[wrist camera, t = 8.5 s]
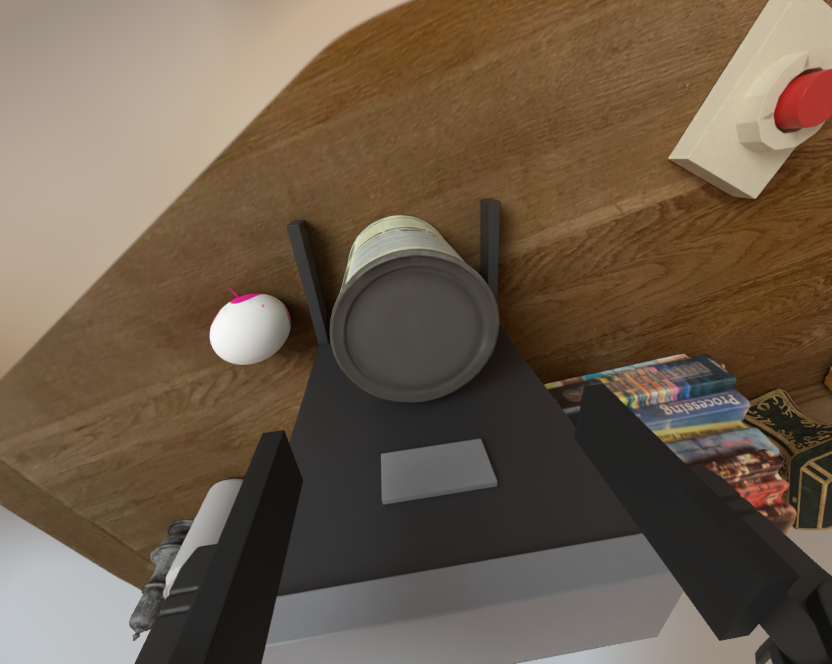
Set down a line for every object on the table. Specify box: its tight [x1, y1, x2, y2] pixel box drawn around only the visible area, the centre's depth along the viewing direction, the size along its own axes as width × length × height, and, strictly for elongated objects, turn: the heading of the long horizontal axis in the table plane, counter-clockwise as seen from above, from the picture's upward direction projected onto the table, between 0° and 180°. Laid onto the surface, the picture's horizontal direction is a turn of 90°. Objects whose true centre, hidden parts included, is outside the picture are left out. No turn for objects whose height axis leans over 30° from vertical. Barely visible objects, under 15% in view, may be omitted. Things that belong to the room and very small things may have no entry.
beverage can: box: [163, 479, 243, 599], centre depth 38 cm, size 6×6×12 cm
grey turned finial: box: [129, 520, 194, 641], centre depth 41 cm, size 6×6×12 cm
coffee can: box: [330, 215, 499, 403], centre depth 26 cm, size 10×10×14 cm
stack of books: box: [544, 354, 797, 535], centre depth 37 cm, size 23×18×17 cm
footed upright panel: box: [262, 198, 683, 664], centre depth 22 cm, size 17×18×26 cm
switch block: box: [668, 0, 832, 199], centre depth 27 cm, size 12×9×4 cm
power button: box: [774, 69, 832, 129], centre depth 25 cm, size 4×4×2 cm
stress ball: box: [208, 290, 291, 365], centre depth 31 cm, size 8×8×7 cm
